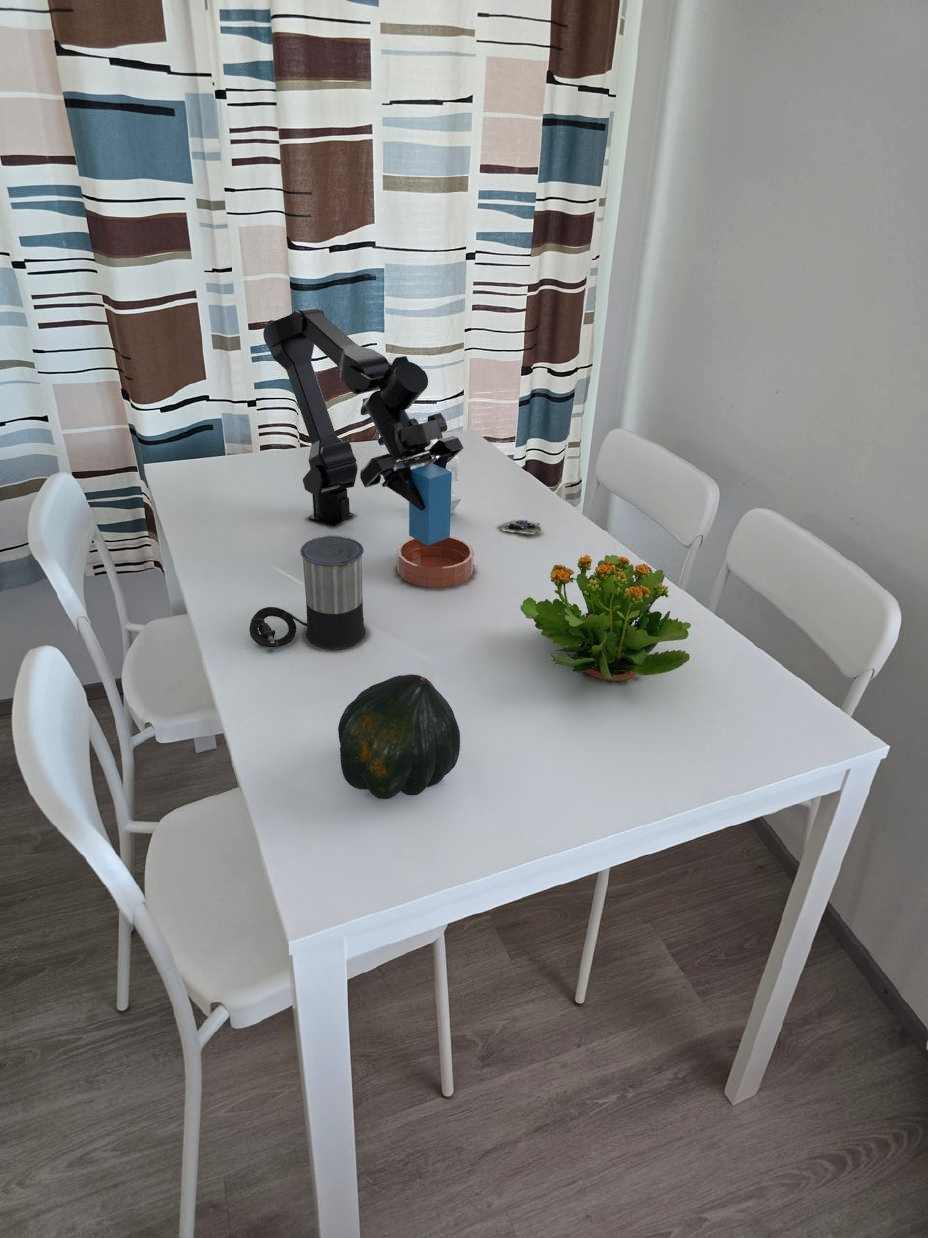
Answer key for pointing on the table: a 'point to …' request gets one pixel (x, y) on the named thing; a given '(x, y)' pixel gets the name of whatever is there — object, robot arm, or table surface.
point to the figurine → (455, 469)
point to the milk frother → (323, 597)
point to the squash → (398, 737)
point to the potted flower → (610, 620)
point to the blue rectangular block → (431, 504)
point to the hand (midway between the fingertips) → (435, 505)
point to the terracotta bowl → (435, 562)
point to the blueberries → (522, 527)
